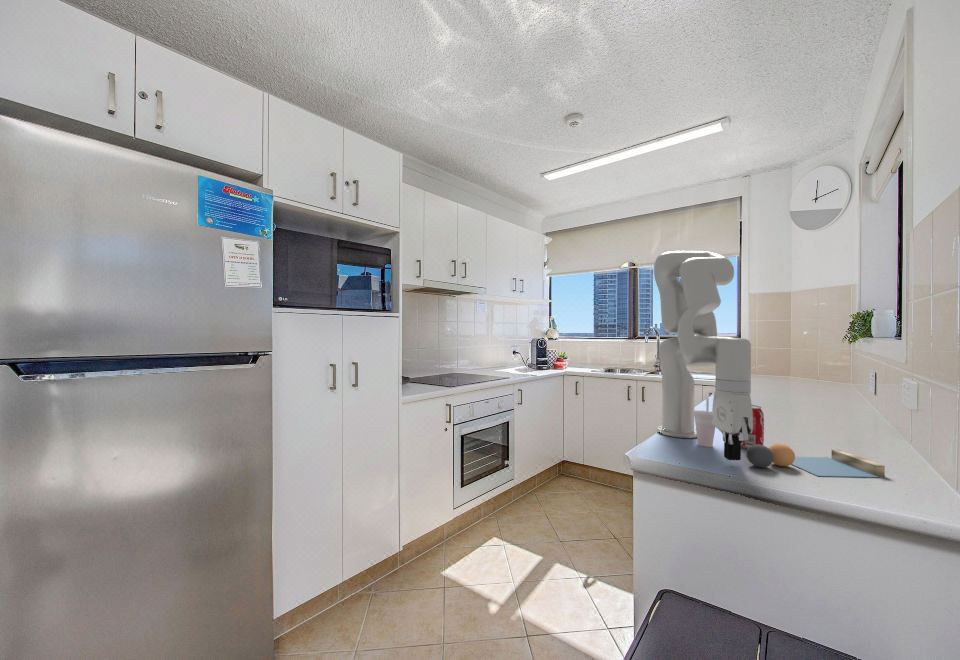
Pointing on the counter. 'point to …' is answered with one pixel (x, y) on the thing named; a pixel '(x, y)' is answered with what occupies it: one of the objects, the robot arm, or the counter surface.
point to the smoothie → (704, 426)
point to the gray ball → (760, 455)
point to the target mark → (829, 467)
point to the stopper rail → (859, 462)
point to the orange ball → (782, 454)
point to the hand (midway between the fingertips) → (732, 458)
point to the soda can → (756, 428)
